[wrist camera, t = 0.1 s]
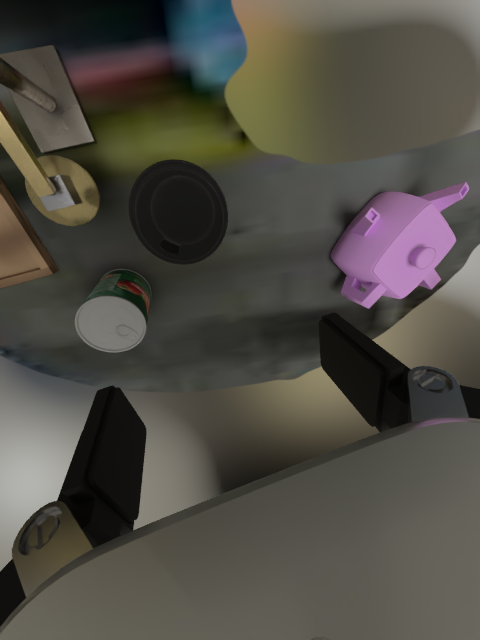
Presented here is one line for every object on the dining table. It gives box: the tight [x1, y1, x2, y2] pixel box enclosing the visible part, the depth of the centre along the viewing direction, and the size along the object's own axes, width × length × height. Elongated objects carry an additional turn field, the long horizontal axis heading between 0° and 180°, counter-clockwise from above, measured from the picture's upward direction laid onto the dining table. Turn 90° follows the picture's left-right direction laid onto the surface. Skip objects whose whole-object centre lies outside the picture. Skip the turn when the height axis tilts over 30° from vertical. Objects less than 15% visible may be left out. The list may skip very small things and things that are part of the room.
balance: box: [0, 45, 100, 226], centre depth 19 cm, size 23×6×18 cm, turn 12°
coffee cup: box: [129, 160, 228, 264], centre depth 29 cm, size 9×9×15 cm
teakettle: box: [330, 182, 470, 308], centre depth 40 cm, size 17×17×12 cm
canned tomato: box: [75, 269, 152, 352], centre depth 34 cm, size 8×8×11 cm
